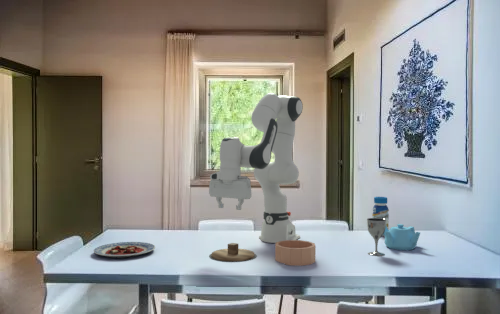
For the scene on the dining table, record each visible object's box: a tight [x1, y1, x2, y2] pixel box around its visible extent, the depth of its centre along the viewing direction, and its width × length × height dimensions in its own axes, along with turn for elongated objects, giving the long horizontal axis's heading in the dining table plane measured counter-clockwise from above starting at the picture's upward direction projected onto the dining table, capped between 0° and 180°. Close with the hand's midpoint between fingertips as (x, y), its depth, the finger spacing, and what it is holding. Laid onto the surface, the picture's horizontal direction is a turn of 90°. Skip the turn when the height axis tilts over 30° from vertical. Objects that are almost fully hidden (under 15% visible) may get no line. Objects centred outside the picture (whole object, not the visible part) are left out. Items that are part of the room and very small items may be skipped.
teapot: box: [383, 223, 421, 251], centre depth 192 cm, size 15×15×11 cm
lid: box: [211, 242, 256, 262], centre depth 174 cm, size 18×18×5 cm
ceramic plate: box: [93, 241, 156, 259], centre depth 181 cm, size 26×26×3 cm
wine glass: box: [366, 217, 386, 257], centre depth 179 cm, size 8×8×15 cm
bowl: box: [274, 239, 316, 267], centre depth 169 cm, size 16×16×6 cm
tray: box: [208, 253, 258, 263], centre depth 174 cm, size 20×20×1 cm
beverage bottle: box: [371, 196, 390, 237], centre depth 222 cm, size 8×8×20 cm
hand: (229, 208), depth 174 cm, fingers open, 8 cm apart
